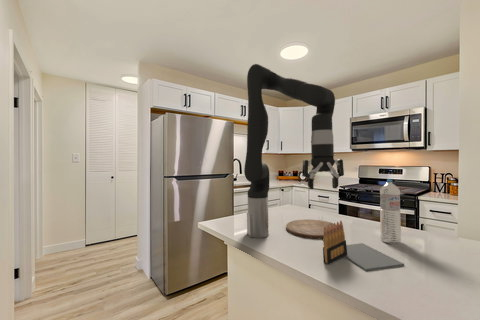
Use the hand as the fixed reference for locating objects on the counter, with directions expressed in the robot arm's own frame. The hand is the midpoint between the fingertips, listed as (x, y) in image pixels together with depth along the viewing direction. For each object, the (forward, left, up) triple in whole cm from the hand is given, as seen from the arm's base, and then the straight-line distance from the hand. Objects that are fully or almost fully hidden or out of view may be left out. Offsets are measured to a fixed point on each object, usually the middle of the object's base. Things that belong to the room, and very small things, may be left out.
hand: (323, 188), depth 82 cm
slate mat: (+12, -5, -23) cm, 27 cm away
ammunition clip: (+1, -5, -23) cm, 24 cm away
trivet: (+10, +26, -24) cm, 36 cm away
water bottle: (+32, +4, -24) cm, 40 cm away
